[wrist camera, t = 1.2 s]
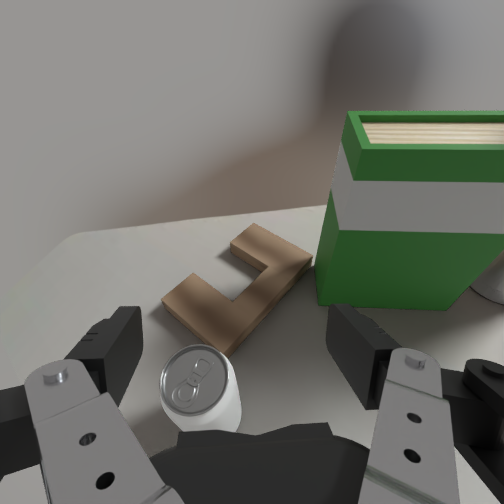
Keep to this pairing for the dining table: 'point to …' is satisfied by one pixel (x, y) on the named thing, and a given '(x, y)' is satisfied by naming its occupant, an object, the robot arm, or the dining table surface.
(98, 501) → the robot arm
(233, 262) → the dining table surface
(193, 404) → the can
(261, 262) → the notched board
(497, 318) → the dining table surface
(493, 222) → the hardback book
